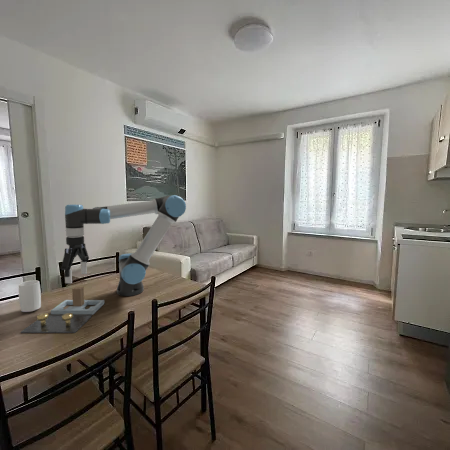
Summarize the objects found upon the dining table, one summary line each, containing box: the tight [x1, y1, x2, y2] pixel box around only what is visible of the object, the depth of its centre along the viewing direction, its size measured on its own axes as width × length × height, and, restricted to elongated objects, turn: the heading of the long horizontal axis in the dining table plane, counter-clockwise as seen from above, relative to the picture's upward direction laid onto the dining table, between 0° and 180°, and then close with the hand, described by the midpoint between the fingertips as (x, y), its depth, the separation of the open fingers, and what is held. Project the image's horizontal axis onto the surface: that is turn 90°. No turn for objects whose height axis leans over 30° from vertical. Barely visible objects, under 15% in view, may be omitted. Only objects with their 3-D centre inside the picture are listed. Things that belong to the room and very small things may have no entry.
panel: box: [50, 286, 105, 315], centre depth 123 cm, size 12×20×11 cm, turn 92°
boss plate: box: [20, 312, 93, 334], centre depth 109 cm, size 22×14×5 cm, turn 92°
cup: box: [18, 279, 42, 313], centre depth 120 cm, size 8×8×14 cm
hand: (76, 278), depth 122 cm, fingers open, 13 cm apart
